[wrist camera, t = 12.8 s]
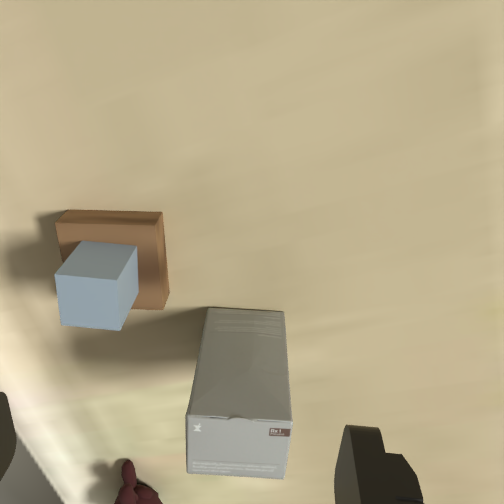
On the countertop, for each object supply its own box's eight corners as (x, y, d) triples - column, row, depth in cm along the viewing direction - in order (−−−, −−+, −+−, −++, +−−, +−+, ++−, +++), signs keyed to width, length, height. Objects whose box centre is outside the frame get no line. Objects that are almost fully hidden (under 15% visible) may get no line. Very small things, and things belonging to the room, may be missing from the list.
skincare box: (206, 352, 53) (179, 480, 39) (208, 298, 49) (178, 416, 35) (283, 359, 53) (284, 490, 39) (290, 305, 49) (293, 427, 35)
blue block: (81, 240, 44) (54, 274, 38) (136, 245, 43) (116, 280, 38) (86, 287, 46) (61, 325, 41) (138, 292, 46) (120, 330, 41)
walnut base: (69, 207, 46) (54, 222, 43) (163, 210, 46) (154, 225, 42) (84, 287, 50) (71, 306, 47) (170, 290, 50) (163, 310, 47)
